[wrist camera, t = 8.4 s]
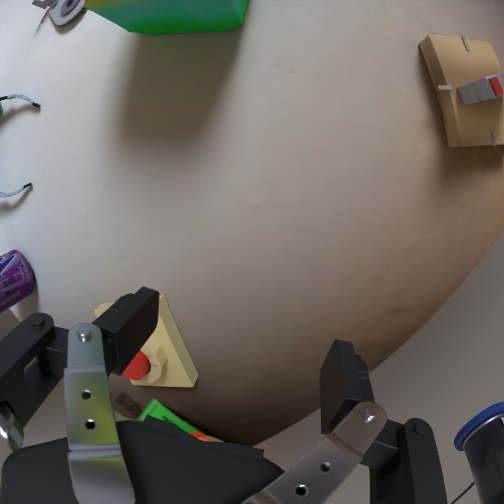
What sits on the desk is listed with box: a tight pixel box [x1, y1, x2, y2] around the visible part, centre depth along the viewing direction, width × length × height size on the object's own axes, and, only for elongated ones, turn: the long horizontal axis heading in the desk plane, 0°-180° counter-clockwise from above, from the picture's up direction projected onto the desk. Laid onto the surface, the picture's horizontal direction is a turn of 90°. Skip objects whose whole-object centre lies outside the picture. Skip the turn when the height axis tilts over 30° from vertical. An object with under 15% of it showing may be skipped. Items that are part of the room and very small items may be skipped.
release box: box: [94, 294, 199, 387], centre depth 29 cm, size 11×9×4 cm
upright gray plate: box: [457, 72, 504, 105], centre depth 12 cm, size 6×2×5 cm, turn 119°
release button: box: [122, 350, 150, 381], centre depth 26 cm, size 4×4×2 cm
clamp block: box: [419, 35, 504, 147], centre depth 15 cm, size 10×10×3 cm
